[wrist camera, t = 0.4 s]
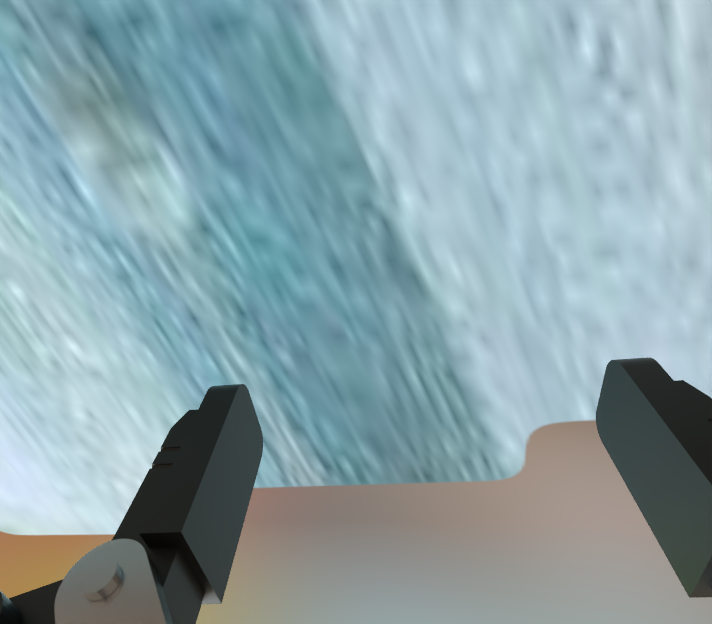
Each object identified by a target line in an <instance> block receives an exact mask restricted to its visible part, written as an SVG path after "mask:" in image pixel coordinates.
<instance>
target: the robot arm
mask: <svg viewBox="0 0 712 624" xmlns="http://www.w3.org/2000/svg"><path fill="white" fill-rule="evenodd" d="M596 424H597V429H598V433H599V436H600V438H601V441H602V442H603V444H604V446H605V448H606V450H607V451H608V453H609V455H610V457H611V459H612V460H613V462H614V464H615V466H616V467H617V469H618V471H619V473H620V475H621V476H622V478H623V480H624V481H625V483H626V485H627V487H628V489H629V491H630V492H631V494H632V496H633V498H634V500H635V501H636V503H637V505H638V507H639V509H640V510H641V512H642V514H643V516H644V517H645V519H646V521H647V523H648V525H649V526H650V528H651V530H652V531H653V533H654V535H655V537H656V539H657V541H658V542H659V544H660V546H661V548H662V549H663V551H664V553H665V555H666V557H667V558H668V560H669V562H670V564H671V566H672V567H673V569H674V571H675V573H676V574H677V576H678V578H679V580H680V582H681V583H682V585H683V587H684V589H685V591H686V592H687V594H688V596H689V597H712V399H711V398H710V397H709V396H707V395H706V394H704V393H703V392H701V391H699V390H698V389H696V388H695V387H693V386H691V385H690V384H688V383H686V382H685V381H683V380H681V381H673V379H672V378H671V377H670V376H669V375H668V374H667V372H666V371H665V370H664V369H663V368H662V367H661V366H660V364H659V363H658V362H657V361H656V360H654V359H652V358H636V359H621V360H611V361H610V362H609V363H608V365H607V367H606V371H605V376H604V380H603V384H602V389H601V393H600V398H599V402H598V406H597V411H596ZM262 451H263V437H262V431H261V427H260V424H259V421H258V418H257V415H256V412H255V409H254V406H253V403H252V400H251V397H250V394H249V391H248V389H247V387H246V386H245V385H244V384H237V385H222V386H212V387H210V388H209V389H208V391H207V393H206V395H205V397H204V399H203V401H202V403H201V405H200V407H199V410H189V411H188V412H187V413H186V414H185V415H184V416H183V417H182V418H181V419H180V420H179V421H178V422H177V423H176V424H175V425H174V426H173V427H172V428H171V429H170V431H169V433H168V435H167V437H166V439H165V441H164V443H163V445H162V447H161V452H158V454H157V456H156V458H155V460H154V462H153V464H152V469H149V471H148V473H147V475H146V477H145V479H144V481H143V483H142V485H141V486H140V488H139V490H138V492H137V494H136V496H135V498H134V500H133V502H132V504H131V506H130V507H129V509H128V511H127V513H126V515H125V517H124V519H123V521H122V523H121V525H120V526H119V528H118V530H117V532H116V534H115V536H114V537H113V539H112V540H111V541H109V542H107V543H104V544H102V545H100V546H98V547H96V548H95V549H93V550H91V551H90V552H88V553H87V554H86V555H85V556H83V557H82V558H81V559H80V560H79V561H78V562H77V563H76V564H75V565H74V566H73V567H72V568H71V570H70V571H69V572H68V574H67V575H66V576H65V578H64V579H63V580H60V581H57V582H55V583H52V584H49V585H46V586H43V587H40V588H38V589H35V590H32V591H29V592H26V593H23V594H20V595H18V596H15V597H12V598H9V599H8V598H7V597H6V596H5V595H4V594H3V593H2V592H1V591H0V624H196V620H197V617H198V614H199V611H200V607H201V604H221V603H222V599H223V596H224V592H225V589H226V585H227V581H228V578H229V574H230V570H231V567H232V563H233V559H234V556H235V552H236V549H237V544H238V541H239V537H240V534H241V530H242V527H243V523H244V519H245V515H246V512H247V508H248V505H249V501H250V497H251V494H252V490H253V486H254V483H255V479H256V475H257V472H258V468H259V464H260V461H261V457H262Z"/></svg>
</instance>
